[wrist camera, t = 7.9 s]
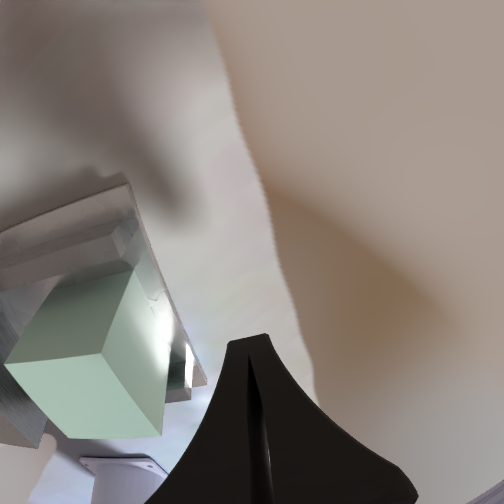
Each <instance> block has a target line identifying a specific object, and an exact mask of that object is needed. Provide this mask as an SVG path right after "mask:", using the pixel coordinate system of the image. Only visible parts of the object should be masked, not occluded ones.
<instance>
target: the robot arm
mask: <svg viewBox="0 0 504 504" xmlns="http://www.w3.org/2000/svg"><path fill="white" fill-rule="evenodd" d="M268 449H269V453H268ZM269 457H270V461H269ZM79 462H80V463H81V464H83V465H84V466H85V467H86V468H88V469H89V470H90V471H91V472H93V473H94V474H95V481H94V487H93V493H92V499H91V504H415V502H416V501H417V498H418V494H417V491H416V489H415V487H414V486H413V484H412V483H411V481H410V480H409V478H408V477H407V476H406V475H405V474H404V472H403V471H402V470H401V469H400V468H399V467H398V466H396V465H395V464H393V463H391V462H389V461H387V460H386V459H384V458H382V457H381V456H379V455H377V454H376V453H374V452H373V451H371V450H370V449H368V448H367V447H365V446H364V445H362V444H361V443H360V442H358V441H357V440H356V439H354V438H353V437H352V436H351V435H349V434H348V433H347V432H345V431H344V430H343V429H342V428H340V427H339V426H338V425H337V424H336V423H335V422H333V421H332V420H331V419H330V418H329V417H328V416H327V415H326V414H325V413H324V412H323V411H322V410H321V409H320V408H319V407H318V406H317V405H316V404H315V403H314V402H313V401H312V400H311V399H310V398H309V397H308V396H307V394H306V393H305V392H304V391H303V390H302V388H301V387H300V386H299V385H298V384H297V382H296V381H295V380H294V378H293V377H292V376H291V374H290V373H289V371H288V370H287V369H286V367H285V366H284V364H283V363H282V361H281V360H280V358H279V356H278V354H277V353H276V351H275V349H274V347H273V345H272V342H271V340H270V337H269V335H268V334H266V333H264V334H260V335H255V336H251V337H247V338H242V339H237V340H233V341H230V342H229V343H228V344H227V350H226V354H225V359H224V363H223V366H222V370H221V373H220V376H219V379H218V382H217V385H216V388H215V391H214V394H213V396H212V399H211V401H210V404H209V406H208V408H207V411H206V413H205V415H204V418H203V420H202V422H201V424H200V426H199V428H198V430H197V432H196V433H195V435H194V437H193V439H192V441H191V442H190V444H189V446H188V447H187V449H186V451H185V452H184V454H183V455H182V457H181V458H180V460H179V461H178V463H177V464H176V466H175V467H174V468H173V470H172V471H171V472H170V474H169V475H168V474H166V473H165V472H164V471H163V470H162V469H161V468H160V467H159V466H158V465H157V464H156V463H155V462H154V461H153V460H151V459H148V458H132V459H114V458H85V457H81V458H80V459H79ZM270 466H271V467H270ZM466 504H504V480H502V481H501V482H499V483H498V484H496V485H495V486H494V487H492V488H491V489H489V490H488V491H486V492H484V493H483V494H481V495H480V496H478V497H477V498H475V499H473V500H472V501H470V502H468V503H466Z"/></svg>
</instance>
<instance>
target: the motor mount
mask: <svg viewBox="0 0 504 504" xmlns="http://www.w3.org/2000/svg"><path fill="white" fill-rule="evenodd" d="M131 270H134V271H135V273H136V275H137V278H138V280H139V282H140V285H141V287H142V289H143V292H144V294H145V296H146V298H147V301H148V303H149V305H150V307H151V309H152V311H153V314H154V316H155V318H156V320H157V322H158V324H159V326H160V328H161V330H162V333H163V335H164V337H165V339H166V341H167V343H168V345H169V347H170V349H171V353H170V361H169V369H168V378H167V386H166V395H165V403H172V402H179V401H186V400H191V388H192V387H198V386H204V385H207V378H206V375H205V373H204V371H203V369H202V367H201V365H200V363H199V361H198V358H197V356H196V354H195V352H194V350H193V348H192V345H191V343H190V341H189V339H188V336H187V334H186V332H185V330H184V327H183V325H182V323H181V320H180V318H179V316H178V313H177V311H176V309H175V306H174V304H173V301H172V299H171V297H170V294H169V292H168V289H167V287H166V284H165V282H164V279H163V277H162V274H161V272H160V269H159V266H158V264H157V261H156V259H155V256H154V253H153V251H152V248H151V245H150V242H149V240H148V237H147V234H146V231H145V229H144V226H143V223H142V220H141V217H140V214H139V211H138V208H137V205H136V202H135V199H134V196H133V193H132V190H131V187H130V184H129V183H126V184H123V185H120V186H117V187H114V188H111V189H108V190H105V191H102V192H99V193H97V194H94V195H91V196H88V197H85V198H82V199H80V200H77V201H74V202H72V203H69V204H66V205H64V206H61V207H58V208H56V209H53V210H51V211H48V212H46V213H43V214H41V215H38V216H36V217H34V218H31V219H29V220H26V221H24V222H22V223H19V224H17V225H15V226H12V227H10V228H8V229H6V230H3V231H1V232H0V443H3V444H8V445H14V446H21V447H28V448H35V449H38V446H39V443H40V440H41V437H42V434H43V431H44V428H45V425H46V423H47V420H48V417H47V416H46V415H45V413H44V412H43V411H42V410H41V409H40V408H39V407H38V406H37V405H36V403H35V402H34V401H33V400H32V399H31V398H30V397H29V395H28V394H27V393H26V392H25V391H24V389H23V388H22V387H21V386H20V385H19V383H18V382H17V381H16V380H15V378H14V377H13V376H12V375H11V373H10V372H9V371H8V369H7V368H6V367H5V365H4V363H5V361H6V359H7V358H8V356H9V354H10V353H11V351H12V349H13V348H14V346H15V344H16V343H17V341H18V340H19V338H20V336H21V335H22V333H23V332H24V330H25V329H26V327H27V325H28V324H29V322H30V321H31V319H32V318H33V316H34V315H35V313H36V312H37V310H38V309H39V307H40V306H41V305H42V303H43V302H44V300H45V299H46V297H47V296H48V295H49V293H50V292H51V291H52V290H56V289H60V288H64V287H68V286H71V285H75V284H79V283H83V282H87V281H91V280H95V279H99V278H103V277H107V276H111V275H115V274H119V273H123V272H127V271H131Z"/></svg>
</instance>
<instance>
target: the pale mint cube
mask: <svg viewBox="0 0 504 504" xmlns="http://www.w3.org/2000/svg"><path fill="white" fill-rule="evenodd" d="M170 353H171V349H170V347H169V345H168V343H167V341H166V339H165V337H164V335H163V333H162V330H161V328H160V326H159V324H158V322H157V320H156V318H155V316H154V314H153V311H152V309H151V307H150V305H149V303H148V301H147V298H146V296H145V294H144V292H143V289H142V287H141V285H140V282H139V280H138V278H137V275H136V273H135V271H134V270H131V271H127V272H123V273H119V274H115V275H111V276H107V277H103V278H99V279H95V280H91V281H87V282H83V283H79V284H75V285H71V286H68V287H64V288H60V289H56V290H52V291H51V292H50V293H49V295H48V296H47V297H46V299H45V300H44V302H43V303H42V305H41V306H40V307H39V309H38V310H37V312H36V313H35V315H34V316H33V318H32V319H31V321H30V322H29V324H28V325H27V327H26V329H25V330H24V332H23V333H22V335H21V336H20V338H19V340H18V341H17V343H16V344H15V346H14V348H13V349H12V351H11V353H10V354H9V356H8V358H7V359H6V361H5V363H4V365H5V367H6V368H7V369H8V371H9V372H10V373H11V375H12V376H13V377H14V378H15V380H16V381H17V382H18V383H19V385H20V386H21V387H22V388H23V389H24V391H25V392H26V393H27V394H28V395H29V397H30V398H31V399H32V400H33V401H34V402H35V403H36V405H37V406H38V407H39V408H40V409H41V410H42V411H43V412H44V413H45V415H46V416H47V417H48V418H49V419H50V420H51V421H52V422H53V423H54V424H55V425H56V426H57V427H58V428H59V429H60V430H61V431H62V432H63V433H64V434H65V435H66V436H67V437H68V438H77V439H123V438H145V437H160V436H162V426H163V415H164V405H165V395H166V386H167V378H168V369H169V361H170Z"/></svg>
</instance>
